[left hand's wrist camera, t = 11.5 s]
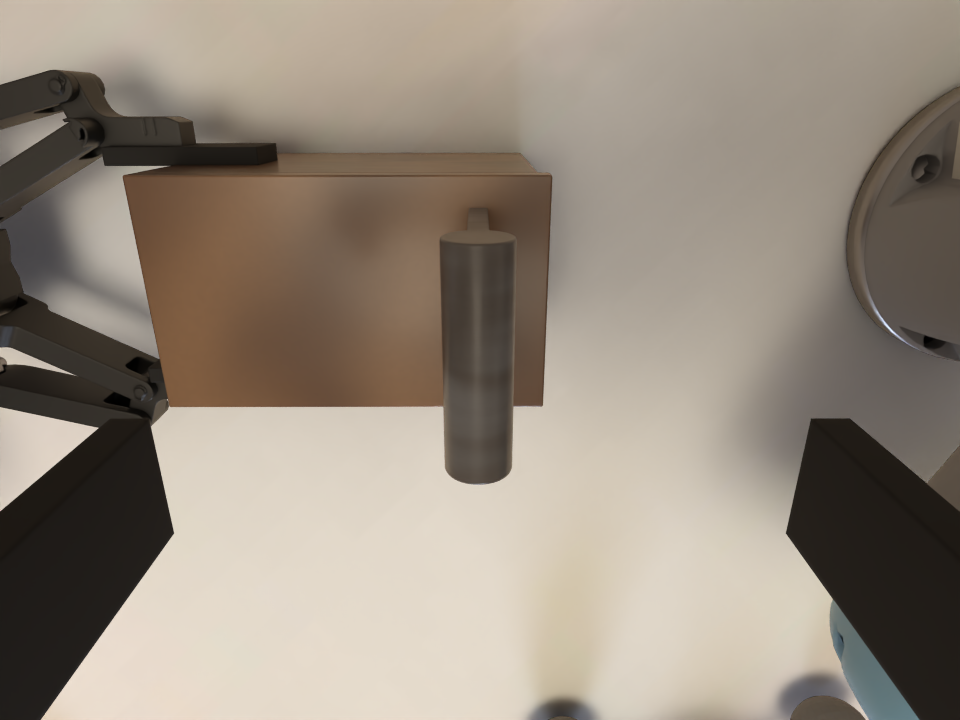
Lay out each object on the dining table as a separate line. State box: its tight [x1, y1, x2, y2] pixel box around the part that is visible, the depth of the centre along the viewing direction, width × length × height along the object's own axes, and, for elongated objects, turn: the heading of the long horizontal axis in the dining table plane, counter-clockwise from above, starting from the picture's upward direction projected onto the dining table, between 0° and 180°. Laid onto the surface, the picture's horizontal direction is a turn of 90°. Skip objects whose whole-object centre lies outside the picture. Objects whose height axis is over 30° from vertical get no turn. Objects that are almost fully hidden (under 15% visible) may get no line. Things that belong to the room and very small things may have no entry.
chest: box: [138, 153, 538, 173], centre depth 30 cm, size 15×9×10 cm, turn 90°
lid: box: [123, 173, 552, 485], centre depth 22 cm, size 16×9×8 cm, turn 90°
